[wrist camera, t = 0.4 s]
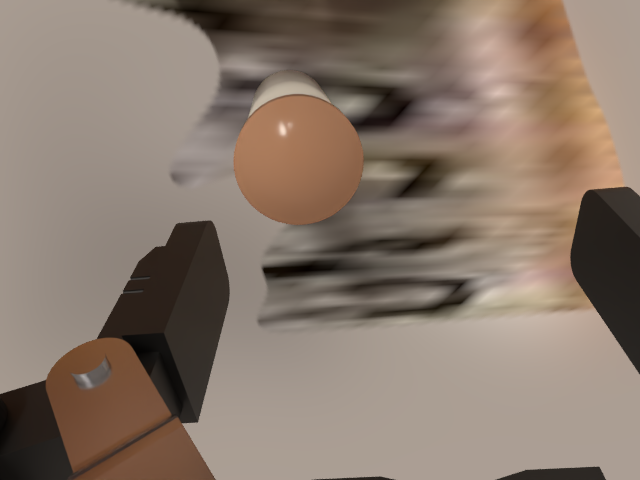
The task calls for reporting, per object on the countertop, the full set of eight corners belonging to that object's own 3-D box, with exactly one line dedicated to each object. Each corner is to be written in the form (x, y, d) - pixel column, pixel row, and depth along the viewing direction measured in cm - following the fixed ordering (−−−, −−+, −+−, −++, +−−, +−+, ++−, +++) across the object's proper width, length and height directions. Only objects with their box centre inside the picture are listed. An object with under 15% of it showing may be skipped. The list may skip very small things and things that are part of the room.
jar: (237, 82, 35) (212, 123, 21) (315, 55, 35) (342, 78, 21) (266, 158, 37) (260, 240, 23) (339, 134, 37) (377, 201, 23)
